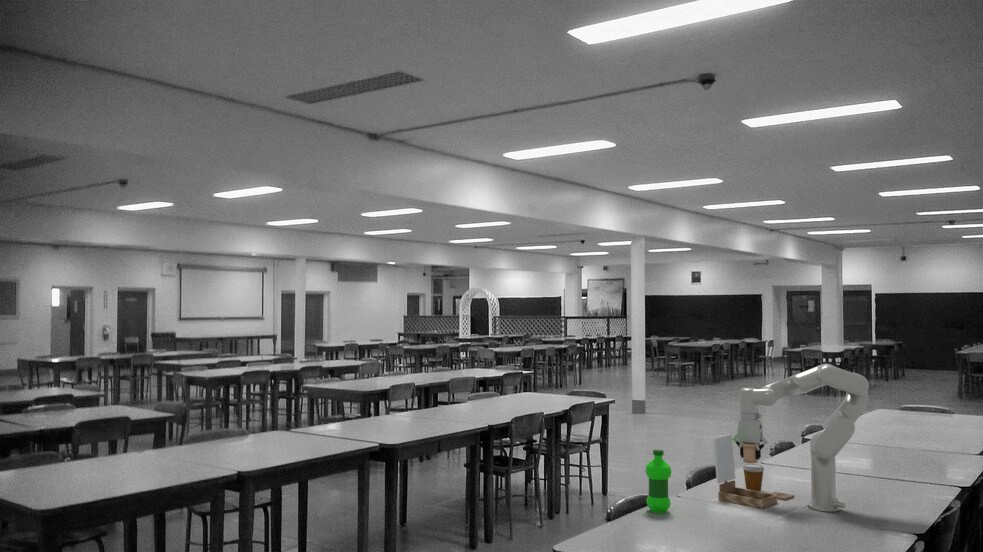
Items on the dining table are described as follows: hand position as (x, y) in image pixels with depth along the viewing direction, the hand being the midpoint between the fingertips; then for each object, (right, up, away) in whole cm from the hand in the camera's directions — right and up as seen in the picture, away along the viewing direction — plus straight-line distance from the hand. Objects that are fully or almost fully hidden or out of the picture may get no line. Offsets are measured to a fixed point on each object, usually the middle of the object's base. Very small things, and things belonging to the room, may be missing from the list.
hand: (750, 457), depth 324 cm
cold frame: (-3, -19, -1) cm, 19 cm away
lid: (-9, -2, +7) cm, 11 cm away
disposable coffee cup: (+8, -20, +19) cm, 29 cm away
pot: (0, -2, 0) cm, 2 cm away
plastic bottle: (-44, -18, -17) cm, 50 cm away
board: (+15, -20, +7) cm, 26 cm away
